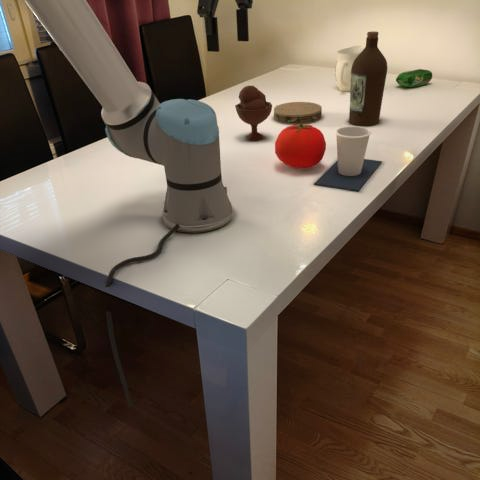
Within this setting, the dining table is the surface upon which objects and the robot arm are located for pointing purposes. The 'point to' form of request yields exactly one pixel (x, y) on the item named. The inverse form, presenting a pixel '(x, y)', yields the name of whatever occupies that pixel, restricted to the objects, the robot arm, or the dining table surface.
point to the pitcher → (346, 66)
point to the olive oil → (367, 83)
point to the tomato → (300, 146)
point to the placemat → (348, 182)
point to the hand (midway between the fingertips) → (228, 46)
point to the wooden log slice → (297, 113)
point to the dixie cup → (351, 149)
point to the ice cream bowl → (253, 110)
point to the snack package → (414, 78)
